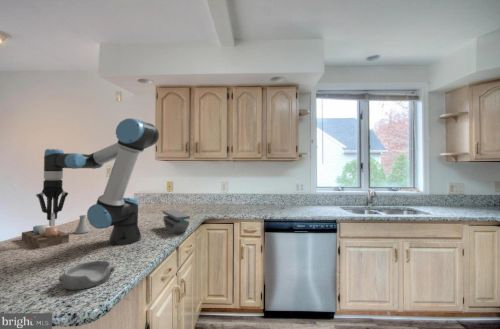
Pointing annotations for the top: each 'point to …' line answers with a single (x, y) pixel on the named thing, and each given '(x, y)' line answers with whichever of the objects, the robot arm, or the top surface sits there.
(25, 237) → the wooden egg tray
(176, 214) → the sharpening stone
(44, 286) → the top surface
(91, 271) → the dish
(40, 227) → the off-white round ball
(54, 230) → the peach orange ball
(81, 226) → the flask
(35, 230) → the blue rounded lump
